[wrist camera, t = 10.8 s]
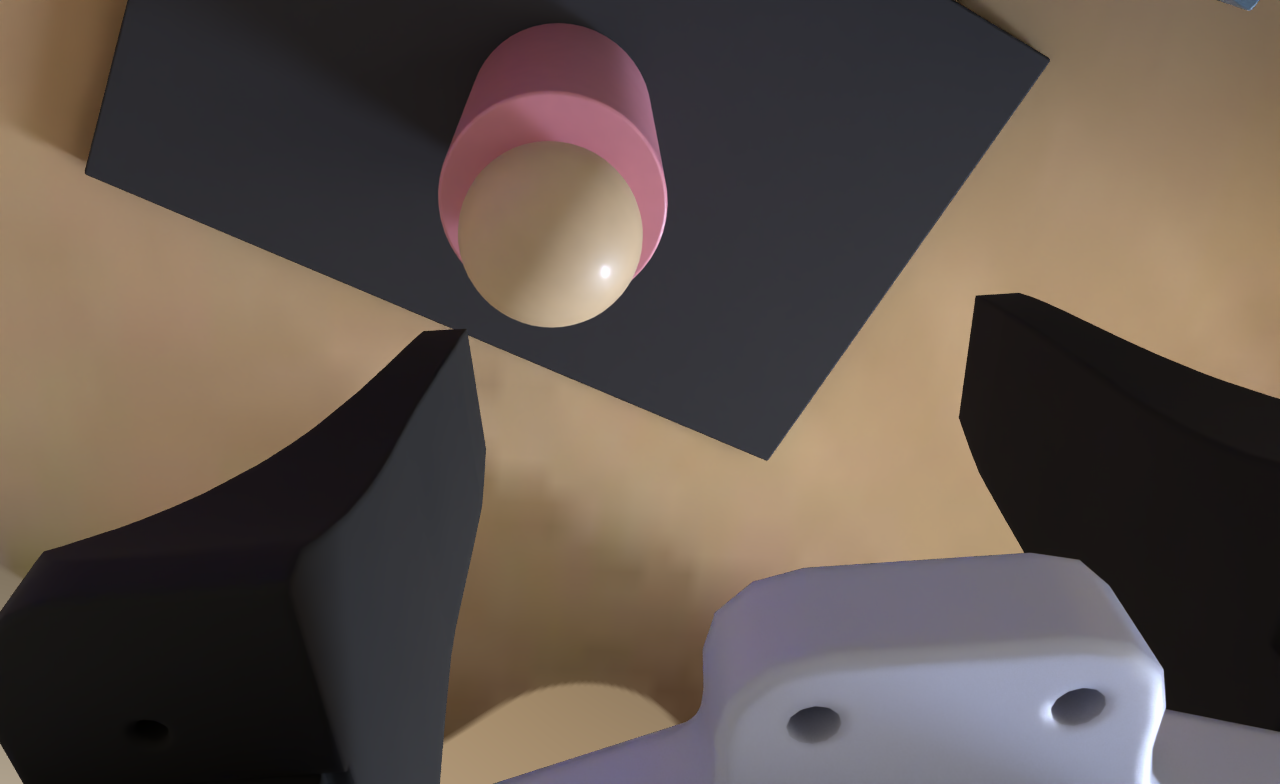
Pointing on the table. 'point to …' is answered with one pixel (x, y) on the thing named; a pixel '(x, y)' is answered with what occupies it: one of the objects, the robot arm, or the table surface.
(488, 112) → the doll
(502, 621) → the table surface
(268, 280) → the table surface
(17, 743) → the robot arm
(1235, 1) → the blue tray
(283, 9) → the mat
